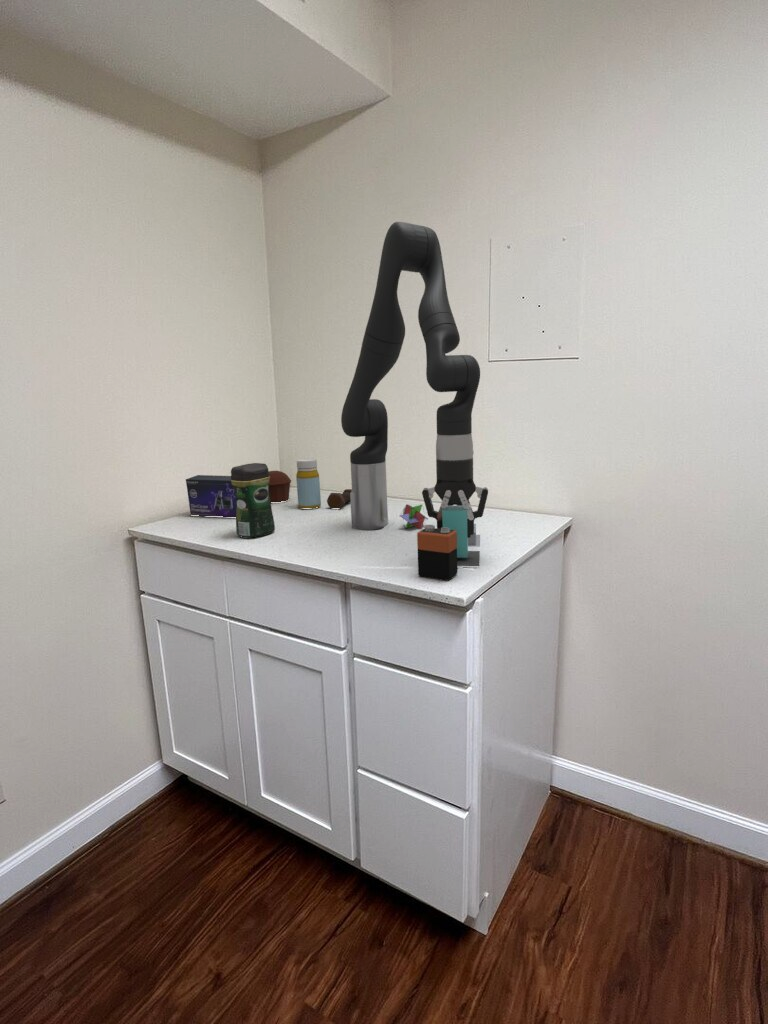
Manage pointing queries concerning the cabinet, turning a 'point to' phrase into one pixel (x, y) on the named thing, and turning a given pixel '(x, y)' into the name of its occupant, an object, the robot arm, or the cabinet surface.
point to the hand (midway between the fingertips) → (455, 536)
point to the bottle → (308, 483)
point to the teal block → (457, 527)
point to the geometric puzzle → (413, 516)
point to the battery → (437, 552)
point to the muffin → (279, 486)
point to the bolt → (339, 499)
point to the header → (474, 539)
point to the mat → (469, 559)
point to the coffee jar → (252, 500)
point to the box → (211, 496)
